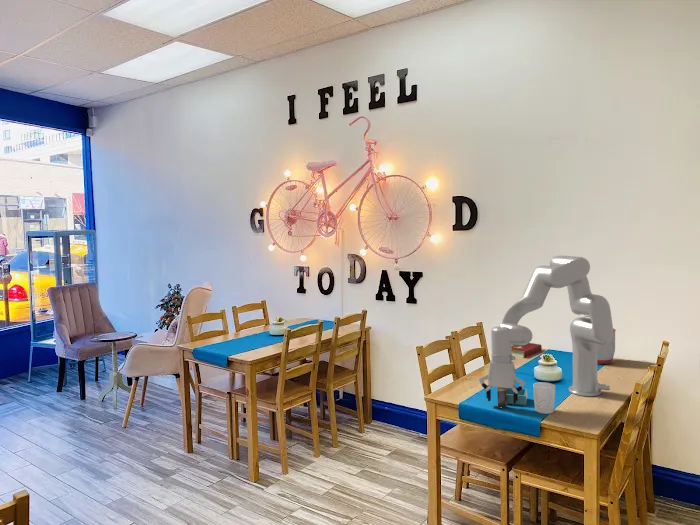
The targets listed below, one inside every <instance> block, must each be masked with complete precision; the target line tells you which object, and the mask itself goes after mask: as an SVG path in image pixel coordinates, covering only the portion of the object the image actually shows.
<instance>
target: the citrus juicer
mask: <svg viewBox="0 0 700 525" xmlns="http://www.w3.org/2000/svg"><path fill="white" fill-rule="evenodd" d="M595 345H596V348H597V365H605V364H606V365H607V364H611V363H612V362H613V360H614V356H615V352H616V329H615V328H614V327H613V337H612V339H611V341H610V342H609V343H607V344H603V345H602V344H596V343H595Z"/></svg>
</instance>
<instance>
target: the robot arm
mask: <svg viewBox="0 0 700 525" xmlns="http://www.w3.org/2000/svg"><path fill="white" fill-rule="evenodd" d="M590 270H591V265H590V262H589V260H588V259H586V258H585V257H583V256H572V255H571V256H570V255H555V256H553V257H552V258H551V259H550V261H549V265H539V266H537V267H535V269H533V272H532V273H531V276H530V277H529V279H528V283H527V285H526V288H525V289H524V291H523V294H522V296H521V297H520V298H519V299H518V300H516V301H515V303H513V305H511V307H509V308H508V309H507V311H506V312H505V313H504V316H503V317H502V320H501V322H500V324H499V326H493V327H492V328H491V332H490V336H491V340H490V342H491V343H490V344H491V345H490V346H491V360H489V366H488V374H487V375H485V376H482V377H480V378H478V381H479V383H480V385H481V387H482V388H483V389H484V390H485V391H486V399H487V401H488V402H490V401H491V399H492V392H491V389H492V388H497V387H498V388H511V389H512V390H513V391H514V394H513V399H514V404H516V401H518V392H519V391H521V390H522V389H524V386H525V384H526V382H525V381H524V380H522V379H521V378H520V377H517V376H516V367H515V363H514V361H515V360H516V357H515V356H512V352H511V346H512V345H526V344H528V343H531V342H532V340H533V331H532V330H531V329H530V328H528V327H526V326H524V325H520V324H518V323H519V322H520V321H521V319H522V318H523V317H524V316H526V315H527V314H528V313H530V312H534V311H536V310H539V309H541V308H542V307H543V306H544V303H545V300H546V299H547V297H548V294H549V292H550V289H551V288H554V289H562V288H565V287H566V288H567V293H568V301H569V306H570V310H571V312H572V313H573V314H575V315H577V316H581V317H576V318H573V320H572V321H571V323H570V325H569V333H570V338H571V342H572V343H571V344H572V385H571V386H569V387H568V391H569V392H570V393H571V394H574V395H575V396H581V397H596V396H600V395H601V394H602V390H603V391H604V390H605V391H610V389H611V388H610V386H611V385H607V384H605V383H602V384H601V383H600V382H599V380H598V364H597V348H596V345H595V343H596V344H602V345H603V344H607V343H609V342H610V341H611V339H612V337H613V328H614V326H613V319H612V318H613V317H612V313H611V312H612V310H611V307H610V306H611V305H610V303H609V301H608V299H607V298H606V297H604V296H603V295H600V294H595V293H594V294H593V292H592V291H591V287H590V282H589V278H588V274H589V273H590ZM486 380H488V381H487V382H488V383H487V384H486V383H485V381H486ZM516 383H519V386H517V385H516Z"/></svg>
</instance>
